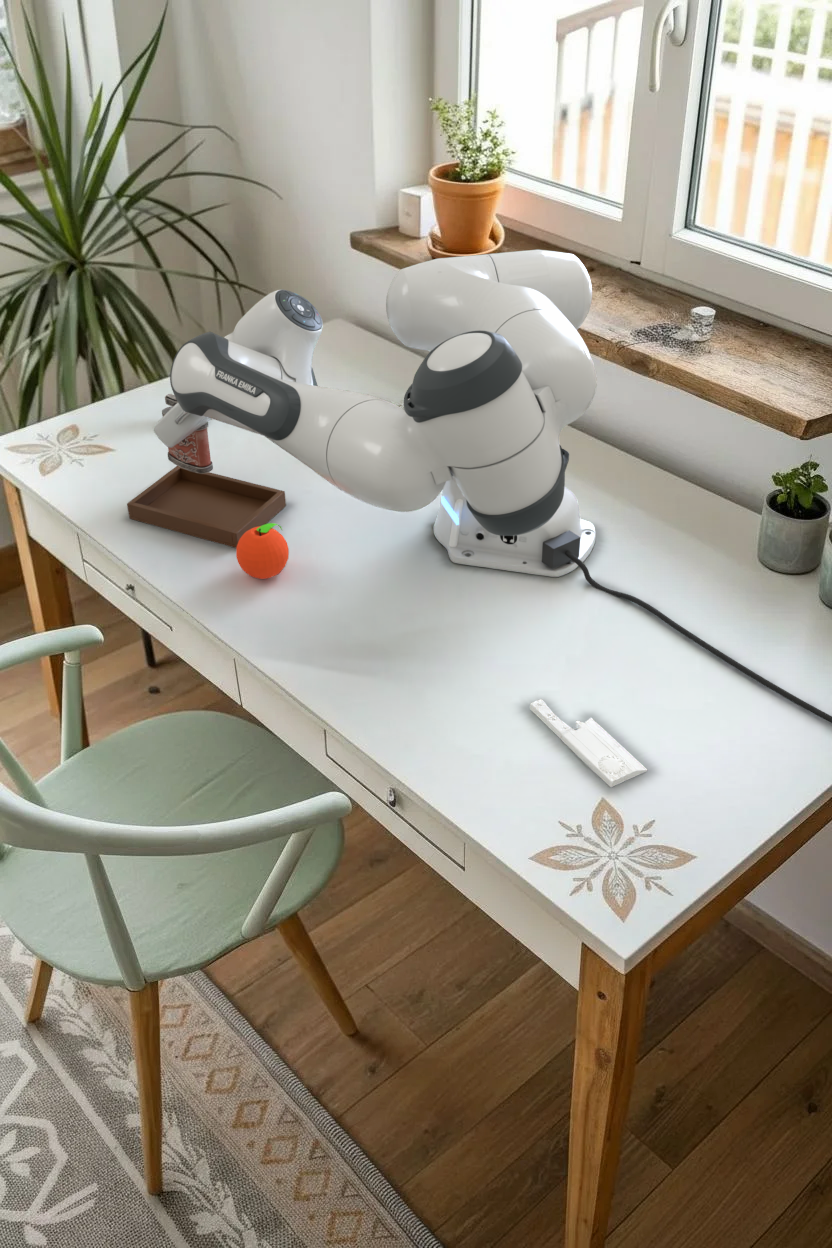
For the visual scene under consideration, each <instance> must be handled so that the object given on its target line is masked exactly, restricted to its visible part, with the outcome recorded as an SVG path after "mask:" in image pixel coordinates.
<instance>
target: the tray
mask: <svg viewBox="0 0 832 1248" xmlns="http://www.w3.org/2000/svg"><path fill="white" fill-rule="evenodd" d="M126 507H127V512H128V513H127V514H128V518H129V520H134V521H137V522H140V523H144V524H148V525H151V526H154V527H158V528H162V529H165V530H168V531H169V530H170V531H172V532H177V533H180V534H184V535H186V536H191V537H195V538H198V539H201V540H205V541H208V542H213V543H216V544H218V545H219V544H220V545H223V546H227V547H231V548H234V549H236V547H237V544H238V541H239V539H240V538H241V537H242V535H243V534H244V533H245V532H246V531H248V530H250V529H252V528H254V527H258V526H262V525H264V524H268V523H270V521H271V520H272V519H274V518H275V517H276V516H277V515H278V514H279V513H280V512H281V511H282V510H284V509H285V508H286V507H287V502H286V491H285V490H281V489H277V488H275V487H274V488H273V487H269V486H265V485H262V484H258V483H253V482H249V481H246V480H242V479H239V478H238V479H237V478H234V477H230V476H225V475H222V474H218V473H214V472H211V471H210V472H208V473H203V474H200V473H196V472H192V471H189V470H186V469H184V468H181V467H179V466H177V465H176V466H174V467H173V468H172V469H171V470H169V471H168V472H166V474H164V475H163V476H161V477H160V478H158V479H157V480H156V481H155V482H153V483H152V484H150V486H148V487H146V489H144V490H143V491H142V492H140V493H138V494H137V495H136V496H134V497H133V498H132V499H131V500H130V501H128V502H127V503H126Z"/></svg>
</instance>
